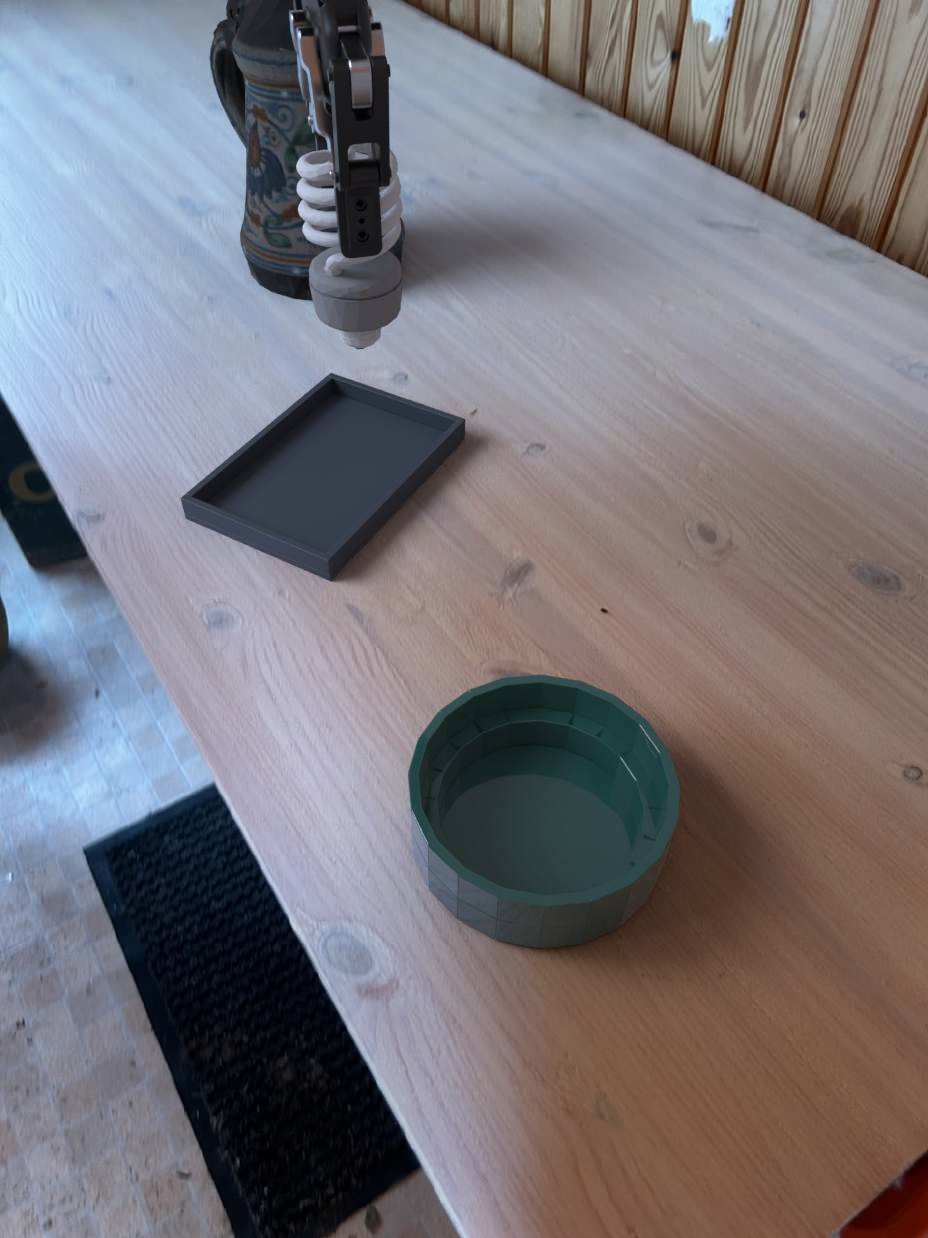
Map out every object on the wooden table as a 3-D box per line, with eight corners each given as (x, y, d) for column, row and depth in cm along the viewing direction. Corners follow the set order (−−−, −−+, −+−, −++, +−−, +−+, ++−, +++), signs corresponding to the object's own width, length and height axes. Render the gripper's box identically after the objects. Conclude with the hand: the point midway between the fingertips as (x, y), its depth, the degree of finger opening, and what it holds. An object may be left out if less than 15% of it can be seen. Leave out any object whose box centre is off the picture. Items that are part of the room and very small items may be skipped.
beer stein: (382, 311, 93) (366, 15, 74) (192, 289, 95) (131, -3, 77) (422, 234, 104) (416, -40, 85) (250, 216, 106) (209, -54, 88)
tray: (330, 581, 68) (328, 560, 66) (185, 518, 72) (179, 497, 70) (465, 439, 79) (465, 418, 78) (332, 392, 83) (330, 372, 82)
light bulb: (370, 384, 56) (356, 172, 47) (295, 354, 58) (267, 146, 49) (425, 340, 59) (421, 135, 50) (352, 314, 61) (335, 112, 52)
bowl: (601, 1000, 48) (613, 958, 44) (362, 870, 52) (355, 822, 49) (700, 789, 56) (717, 739, 53) (487, 693, 61) (489, 641, 57)
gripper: (216, -189, 45) (267, 180, 57) (249, -125, 35) (301, 300, 48) (376, -193, 46) (391, 168, 58) (447, -133, 37) (448, 283, 49)
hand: (351, 226), depth 53 cm, fingers closed on light bulb, 5 cm apart
